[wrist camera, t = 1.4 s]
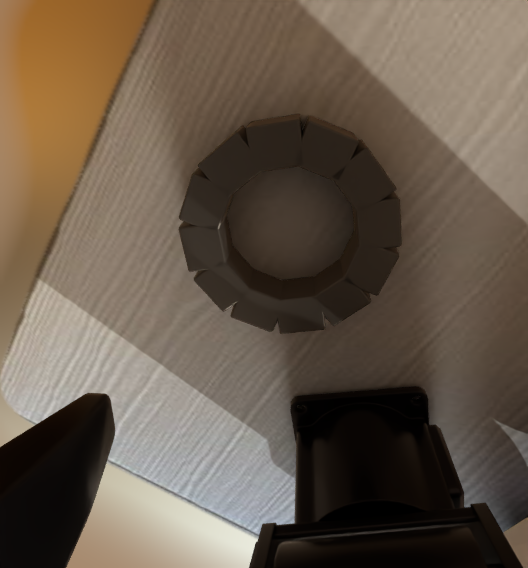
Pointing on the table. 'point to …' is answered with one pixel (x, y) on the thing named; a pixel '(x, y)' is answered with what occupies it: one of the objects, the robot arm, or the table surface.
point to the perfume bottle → (519, 541)
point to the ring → (302, 291)
